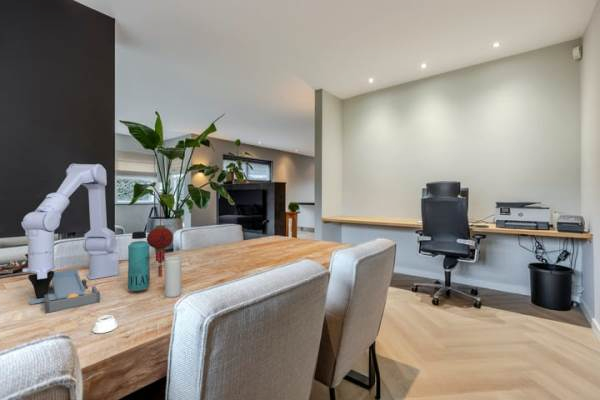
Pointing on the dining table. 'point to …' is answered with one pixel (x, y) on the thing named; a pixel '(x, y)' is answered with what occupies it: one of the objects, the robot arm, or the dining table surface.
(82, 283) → the stand
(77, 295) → the ball
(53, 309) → the dish
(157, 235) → the lantern
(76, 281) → the blue-grey piece
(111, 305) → the dining table surface
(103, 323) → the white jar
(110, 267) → the robot arm
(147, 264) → the beverage bottle
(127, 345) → the dining table surface
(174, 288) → the beverage can
